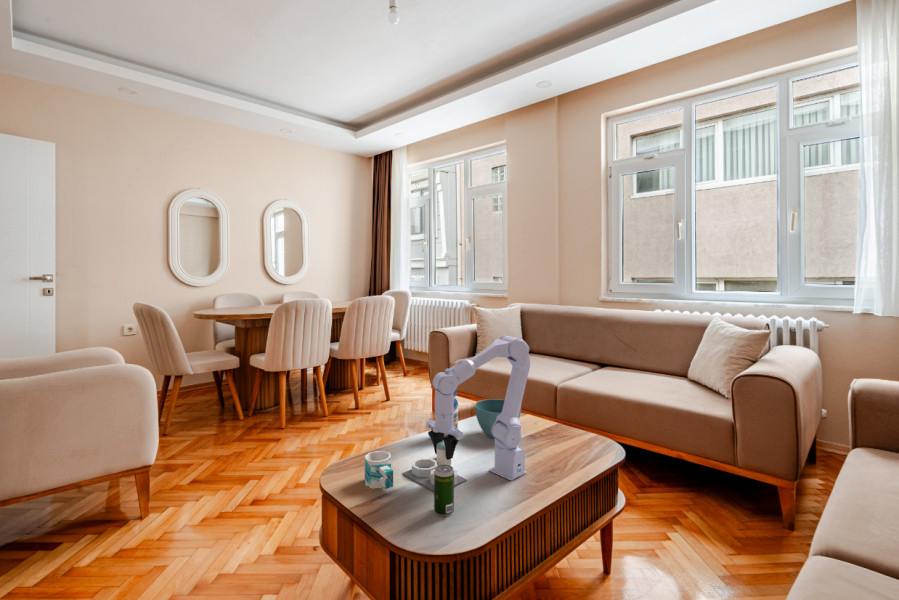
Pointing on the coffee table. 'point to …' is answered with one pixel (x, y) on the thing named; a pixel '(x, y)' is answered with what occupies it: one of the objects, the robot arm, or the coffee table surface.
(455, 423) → the beverage bottle
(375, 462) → the mug
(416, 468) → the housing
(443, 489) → the beer can
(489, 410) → the teal bowl
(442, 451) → the teal-capped white cylinder
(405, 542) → the coffee table surface
